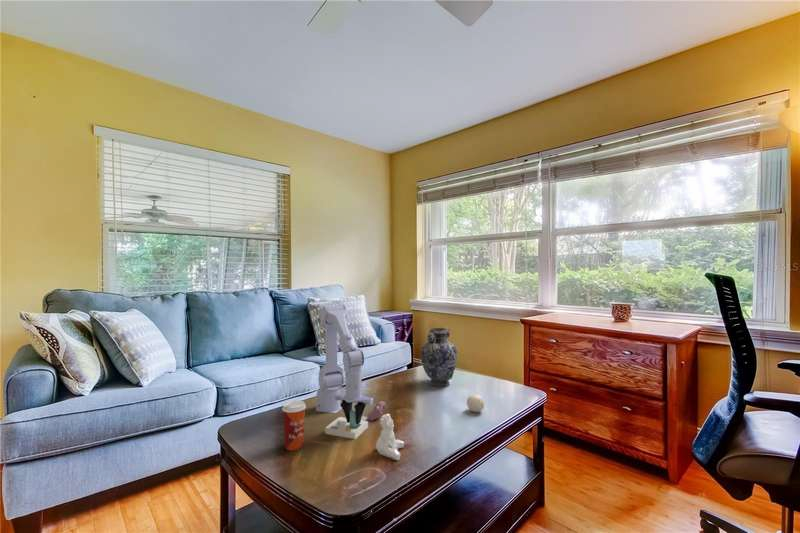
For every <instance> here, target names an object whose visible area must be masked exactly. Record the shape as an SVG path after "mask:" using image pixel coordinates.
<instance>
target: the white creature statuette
mask: <svg viewBox="0 0 800 533" xmlns="http://www.w3.org/2000/svg"><path fill="white" fill-rule="evenodd" d="M379 419H380V420H379V424H380V426H381V431H380V436H379V437H378V439H377V441H376V443H375V449H376V451H377V452H378V453H379V454H380V455H381V456H383V457H387V458H388V459H389V458H390V459H392V460H394V461H399V460H401V453H400V452H399V449H404V447H405V442H404V441H403V440H400V439H398V438H397V439H396V436H395V433H394V427H395V425H394V420H393V419H392V417H391V414H390V413H385V414H382V415H381V416H380V418H379Z"/></svg>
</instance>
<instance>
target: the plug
mask: <svg viewBox="0 0 800 533" xmlns="http://www.w3.org/2000/svg"><path fill="white" fill-rule="evenodd" d="M349 428H353V429H357V428H358V424H356V412H355V408H352V409H351V410H350V411H349Z"/></svg>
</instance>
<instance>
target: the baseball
mask: <svg viewBox="0 0 800 533" xmlns="http://www.w3.org/2000/svg"><path fill="white" fill-rule="evenodd" d="M466 407H467V408H468V409H469V411H471V412H473V413H479V412H481V411H483V409H484V407H485V401H484V399H483V398H482V396H481V395H479V394H471V395H469V396H468V397H467V399H466Z"/></svg>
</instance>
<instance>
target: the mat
mask: <svg viewBox="0 0 800 533" xmlns="http://www.w3.org/2000/svg"><path fill="white" fill-rule="evenodd" d="M367 417H368V416H366V415H365V416H364V415H362V417H361V420H363V421H367Z"/></svg>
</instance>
